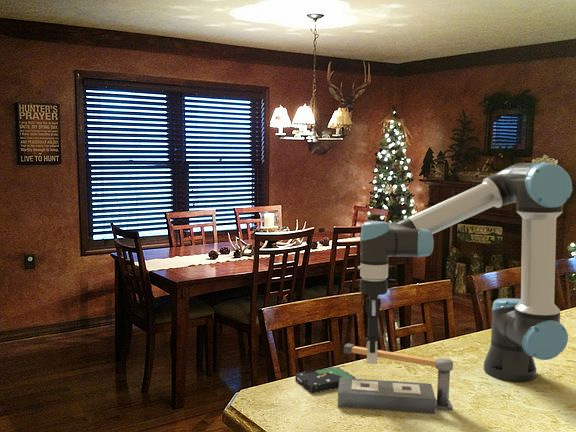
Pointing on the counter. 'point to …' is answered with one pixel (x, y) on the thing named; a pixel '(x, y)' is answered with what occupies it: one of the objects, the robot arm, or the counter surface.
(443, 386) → the pivot post
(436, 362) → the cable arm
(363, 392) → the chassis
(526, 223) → the robot arm
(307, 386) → the disk drive
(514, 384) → the counter surface
